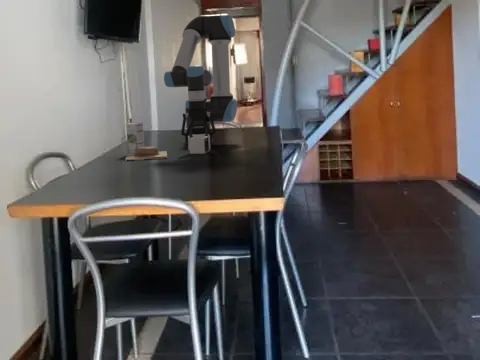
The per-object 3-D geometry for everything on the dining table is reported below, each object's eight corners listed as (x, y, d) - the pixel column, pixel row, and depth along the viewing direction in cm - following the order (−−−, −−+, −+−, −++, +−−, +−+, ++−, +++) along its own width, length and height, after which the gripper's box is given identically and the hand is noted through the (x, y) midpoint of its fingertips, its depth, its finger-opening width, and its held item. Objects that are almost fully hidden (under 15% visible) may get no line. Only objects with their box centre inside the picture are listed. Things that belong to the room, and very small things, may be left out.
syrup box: (145, 152, 291) (143, 122, 288) (137, 154, 286) (135, 123, 283) (135, 152, 294) (133, 122, 291) (128, 154, 289) (125, 123, 286)
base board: (127, 155, 285) (127, 146, 284) (166, 153, 287) (166, 144, 286) (125, 161, 267) (124, 151, 266) (167, 158, 269) (166, 149, 268)
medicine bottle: (205, 153, 279) (203, 127, 277) (190, 153, 281) (188, 127, 279) (209, 151, 286) (207, 125, 284) (194, 151, 288) (192, 126, 286)
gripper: (173, 101, 274) (176, 152, 278) (220, 99, 277) (223, 149, 281) (173, 101, 282) (176, 150, 286) (219, 98, 284) (221, 147, 288)
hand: (199, 149), depth 283 cm, fingers closed on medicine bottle, 8 cm apart
